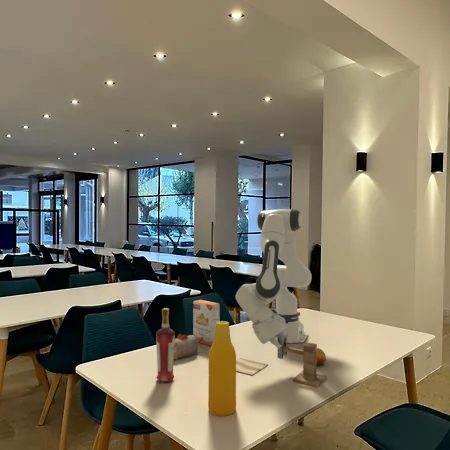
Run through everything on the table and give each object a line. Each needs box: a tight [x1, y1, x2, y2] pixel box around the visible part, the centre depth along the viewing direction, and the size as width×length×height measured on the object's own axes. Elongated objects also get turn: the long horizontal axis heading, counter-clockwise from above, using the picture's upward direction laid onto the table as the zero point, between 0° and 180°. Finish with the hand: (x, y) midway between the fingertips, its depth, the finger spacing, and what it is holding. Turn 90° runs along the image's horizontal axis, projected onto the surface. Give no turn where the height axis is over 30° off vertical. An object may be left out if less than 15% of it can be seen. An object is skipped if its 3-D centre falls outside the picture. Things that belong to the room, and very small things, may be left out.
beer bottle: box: [207, 320, 237, 417], centre depth 133 cm, size 9×9×29 cm
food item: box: [174, 333, 199, 360], centre depth 186 cm, size 14×8×10 cm, turn 132°
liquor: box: [155, 307, 176, 384], centre depth 157 cm, size 7×7×28 cm
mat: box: [236, 357, 269, 376], centre depth 172 cm, size 14×14×1 cm
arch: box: [277, 333, 288, 360], centre depth 165 cm, size 5×2×9 cm, turn 147°
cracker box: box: [192, 299, 221, 347], centre depth 206 cm, size 14×6×21 cm, turn 47°
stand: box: [283, 341, 327, 388], centre depth 161 cm, size 10×19×14 cm, turn 57°
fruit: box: [317, 347, 327, 367], centre depth 176 cm, size 8×8×8 cm
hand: (283, 345), depth 165 cm, fingers closed on arch, 5 cm apart
